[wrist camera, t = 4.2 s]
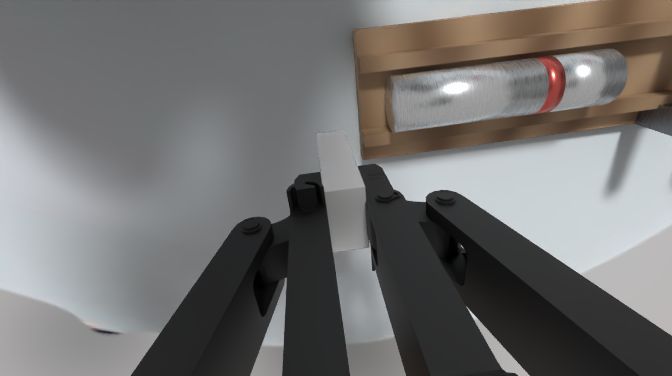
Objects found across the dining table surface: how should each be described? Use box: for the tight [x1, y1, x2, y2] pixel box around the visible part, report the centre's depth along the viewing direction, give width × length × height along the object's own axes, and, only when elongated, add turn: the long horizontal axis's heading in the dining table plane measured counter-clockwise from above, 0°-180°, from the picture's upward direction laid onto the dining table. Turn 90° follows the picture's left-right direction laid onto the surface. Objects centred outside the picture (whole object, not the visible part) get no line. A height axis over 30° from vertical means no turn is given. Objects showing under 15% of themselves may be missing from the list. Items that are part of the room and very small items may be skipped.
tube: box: [385, 49, 628, 132], centre depth 24 cm, size 16×4×4 cm, turn 96°
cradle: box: [353, 0, 672, 160], centre depth 26 cm, size 38×10×2 cm, turn 96°
